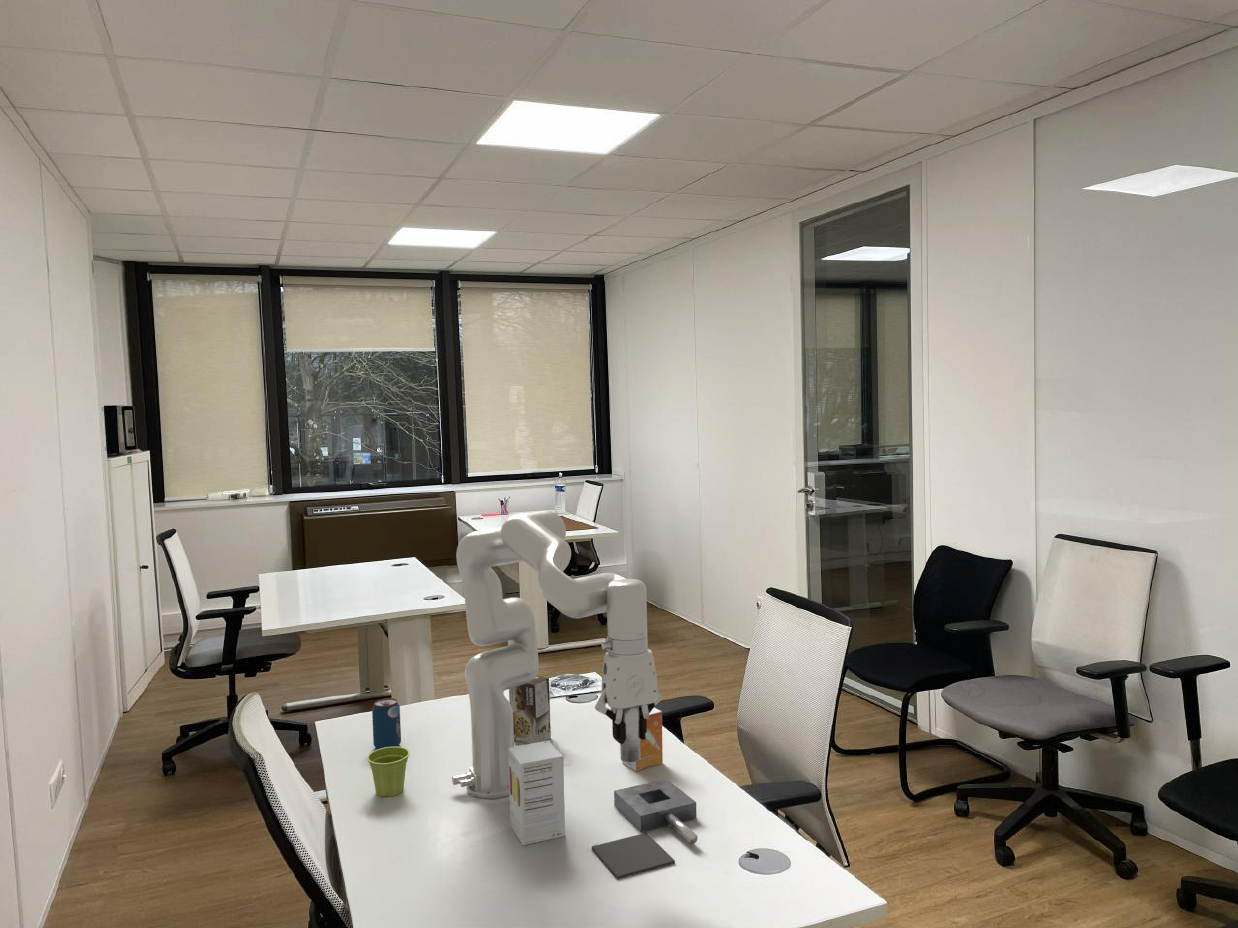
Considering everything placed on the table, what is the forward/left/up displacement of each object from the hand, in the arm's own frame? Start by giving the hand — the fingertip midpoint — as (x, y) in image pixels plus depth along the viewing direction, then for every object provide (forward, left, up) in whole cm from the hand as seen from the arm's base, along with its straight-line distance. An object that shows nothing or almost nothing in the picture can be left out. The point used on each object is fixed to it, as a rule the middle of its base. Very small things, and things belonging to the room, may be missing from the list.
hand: (629, 738), depth 162 cm
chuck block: (+12, +9, -23) cm, 28 cm away
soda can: (-33, +78, -23) cm, 88 cm away
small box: (+21, +38, -23) cm, 49 cm away
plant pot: (-37, +51, -23) cm, 67 cm away
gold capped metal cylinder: (0, 0, -4) cm, 4 cm away
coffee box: (+2, +66, -23) cm, 70 cm away
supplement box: (-13, +18, -23) cm, 32 cm away
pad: (0, 0, -23) cm, 23 cm away
